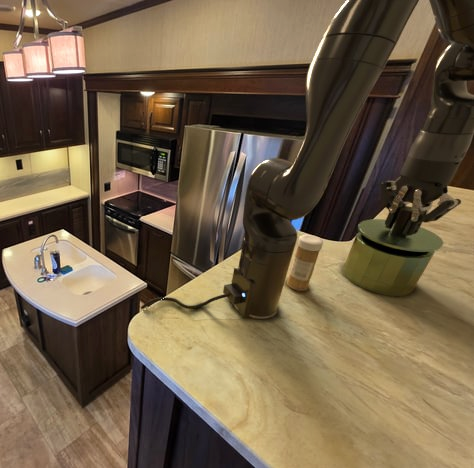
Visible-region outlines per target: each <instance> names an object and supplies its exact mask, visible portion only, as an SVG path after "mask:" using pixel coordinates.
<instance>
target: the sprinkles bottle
mask: <svg viewBox="0 0 474 468" xmlns="http://www.w3.org/2000/svg"><path fill="white" fill-rule="evenodd" d="M323 245H324V241H323V239H322V238H320V237H319V236H316V235H312V234H303V235H300V236H299V238H298V240H297V248H296V250H295V251H296V252H295V254H294V257H293V260H292V264H291V267H290V271H289V276H288V278H287V281H286V284H287V286H288V287H289V288H290V289H292V290H294V291H298V292H305V291H307V290H308V289H309V284H310V281H311V279H312V276H313V273H314V270H315V266H316V264H317V260H318V257H319V254H320V252H321V250H322V248H323Z"/></svg>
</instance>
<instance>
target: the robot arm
mask: <svg viewBox="0 0 474 468" xmlns="http://www.w3.org/2000/svg"><path fill="white" fill-rule="evenodd" d="M419 1H420V0H346V1H345V2H344V3H343V4H342V5H341V7H340V8H339V9H338V11H337V12H336V14H334V16H333V17H332V19H331V21H329V23H328V25H327V27H326V29H325V30H324V32H323V35H322V36H321V39H320V41H319V44H318V45H317V48H316V50H315V53H314V54H313V57H312V59H311V62H310V64H309V67H308V70H307V72H306V76H305V83H304V97H305V98H304V100H305V111H306V128H305V133H304V137H303V141H302V142H301V145H300V148H299V150H298V153H297V155H296V157H295V160H294V161H290V160H287V159H284V158H279V157H272V158H267V159H264V160H263V161H261V162H260V163H259V164H258V165H257V166H256V167H255V168H254V169H253V171H252V172H251V174H250V176H249V179H248V182H247V184H246V189H245V197H244V204H243V214H242V226H243V229H244V235H243V239H242V244H241V245H242V246H241V252H240V256H239V262H238V266H235V267H234V268H233V272H232V278H231V283H227V284H224V285H223V291H222V293H223V294H219V295H217V296H214V297H212V298H209V299H207V300H206V301H204V302H201V303H197V304H193V305H188V304H184V303H182V302H181V301H180V300H178V299H177V298H174V297H168V296H166V298H165V296H164V297H163V296H162V297H156V298H153V299H150V300H148V301H147V302H145V303H144V304H143V305H141V306H140V309H142V310H143V309H145V308H146V307H148V306H149V305H151V304H154V303H155V302H163V301H165V302H166V301H167V302H173V303H176V304H177V305H179V306H180V307H182V308H184V309H186V310H187V309H188V310H195V309H199V308H201V307H204V306H206V305H209V304H210V303H212V302H215V301H218V300H221V299H225V298H227V300H228V301H229V303H230V304H231V305H232V306H233V307H234V308H235V310H236V311H237V312H238V313H239V314H240V316H242V317H243V318H251V319H256V320H268V319H270V318H274V316H276V314H277V313H278V307H279V303H280V300H281V296H282V293H283V289H284V285H285V283H286V279H287V275H288V271H289V269H290V264H291V261H292V258H293V254H294V251H295V247H296V244H297V242H298V231H297V229H296V228H295V226H294V225H293V224H292V222H291V221H297V220H299V219H302V218H304V217H306V216H307V215H308V214H309V213H310V212H312V210H314V208H315V207H316V206H317V204H318V203H319V202H320V200H321V198H322V196H323V195H324V193H325V191H326V189H327V187H328V184H329V182H330V179H331V177H332V174H333V172H334V170H335V168H336V165H337V162H338V160H339V158H340V155H341V153H342V150H343V148H344V145H345V143H346V141H347V139H348V137H349V135H350V133H351V131H352V128H353V126H354V124H355V122H356V120H357V118H358V116H359V114H360V113H361V110H362V109H363V107H364V104H365V103H366V100H367V99H368V97H369V95H370V93H371V91H372V90H373V89H374V86H375V84H376V82H377V81H378V79H379V78H380V76H381V74H382V72H383V70H384V68H385V66H386V65H387V63H388V61H389V59H390V57H391V55H392V53H393V52H394V50H395V48H396V46H397V44H398V42H399V41H400V38H401V36H402V33H403V32H404V29H405V27H406V25H407V23H408V22H409V20H410V18H411V16H412V15H413V12H414V11H415V9H416V7H417V5H418V3H419ZM428 1H429V4H430V7H431V11H432V14H433V17H434V21H435V25H436V28H437V31H438V33H439V36H440V38H441V39H442V40H443V41H445V43H446V42H447V43H450V44H449V45H448V46H447V47H445V49H444V50H443V51H442V52H441V53H440V55H439V56H438V57H437V60H436V62H435V65H434V70H433V76H432V88H431V89H432V90H431V97H430V107H429V110H428V112H427V115H426V117H425V119H424V122H423V124H422V125H421V128H420V131H419V132H418V134H417V136H415V139H414V141H413V143H412V144H411V148H410V150H409V152H408V154H407V156H406V158H405V161H404V163H403V166H402V168H401V170H400V175H399V177H398V178H396V180H394V179H391V180H386V181H385V180H384V181H382V182H380V200H381V201H380V202H381V207H382V208H385V209H387V210H388V215H387V216H386V219H385V220H386V221H385V225H386V226H385V227H386V228H388V229H391V227H392V224H393V222H394V220H395V218H396V216H397V214H398V211H399V209H400V207H402V206H408V205H409V204H411V207H412V208H411V210H412V211H413V212H412V216H411V220H409V221H408V223H407V225H406V227H405V229H404V231H403V233H402V235H405V236H410V235H413V234H416V233H417V232H418V230H419V228H420V227H421V226H422V224H423V223H425V224H426V223H430V222H437V221H438V220H439V219H441V218H443V217H444V216H445V215H447V214H448V213H450V212H451V211H452V210H454V209H455V208H457V207H458V206H459V205H461V204H462V200H461V199H460V198H454V197H452V196H451V195H450V194H449V193H448V192H449V189H448V186H449V184H450V183H451V181H452V180H453V179H454V176H455V175H456V173H457V171H458V169H459V167H460V165H461V163H462V161H463V160H464V158H465V157H466V155H467V152H468V150H469V148H470V146H471V143H472V140H473V138H474V94H472V93H470V92H469V91H468V87H467V82H474V0H428ZM396 191H397V192H396ZM437 200H439V201H438V202H437V206H436V207H434V208H433V209H432V207H433V203H434V202H435V201H437ZM431 209H432V210H431ZM429 211H430V212H429ZM163 298H164V299H163ZM161 299H162V300H161Z"/></svg>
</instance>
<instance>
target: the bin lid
mask: <svg viewBox="0 0 474 468" xmlns="http://www.w3.org/2000/svg"><path fill="white" fill-rule="evenodd" d="M411 208H412V206H408V205H407V206H402V207H400V209H399V211H398V214H397V216H396V218H395V220H394V222H393V224H392V227H391V229H388V228H386V227H385V226H386V225H385V221H386V219H383V218H381V219H380V218H373V219H365V220H363V221H360V222H359V224H358V225H357V231H358V233H359V232H360V233H361V234H362V235H363V236H365V237H366V238H368V239H370V240H372V241H374V242H377V243H379V244H382V245H385V246H388V247H392V248H396V249H401V250H407V251H415V252H430V251H435V252H436V251H438V250H440V249H441V248H442V247H443V245H444V241H443V239H442V237H440V236H439V235H438V234H436V233H434V232H433V231H431V230H429V229H426V228H424V227H421V226H420V228H419V230H418V232H417V233H416V234H413V235H410V236H405V235H402V233H403V231H404V229H405V227H406V225H407V223H408V221H409V220H411V216H412V212H413V211H412V210H411Z"/></svg>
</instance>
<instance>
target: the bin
mask: <svg viewBox="0 0 474 468" xmlns="http://www.w3.org/2000/svg"><path fill="white" fill-rule="evenodd" d="M354 237H355V238H354V240H353V243H352V245H351V248H350V250H349V253H348V255H347V257H346V261H345V262H344V265H343V269H342V272H343V275H344V276H345V277H346V278H347V279H348V281H350V282H351V283H353V284H355V285H356V286H358V287H360V288H362V289H363V290H367V291H369V292H372V293H374V294H375V293H376V294H380V295H384V296H389V297H390V296H391V297H403V296H408V295H410V294H411V293H412V292H413V290H415V288H416V287H417V285H418V283H419V281H420V279H421V277H422V275H423V274H424V272H425V271H426V268H427V267H428V265H429V263H430V261H431V260H432V258H433V256H434V254H435V253H436V250H435V251H430V252H415V251H407V250H401V249H396V248H392V247H388V246H385V245H382V244H379V243H377V242H374V241H372V240H370V239H368V238H366V237H365V236H363V235H362V234H361V233H360V232H359V231H358V233H356V234H355V236H354Z"/></svg>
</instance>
